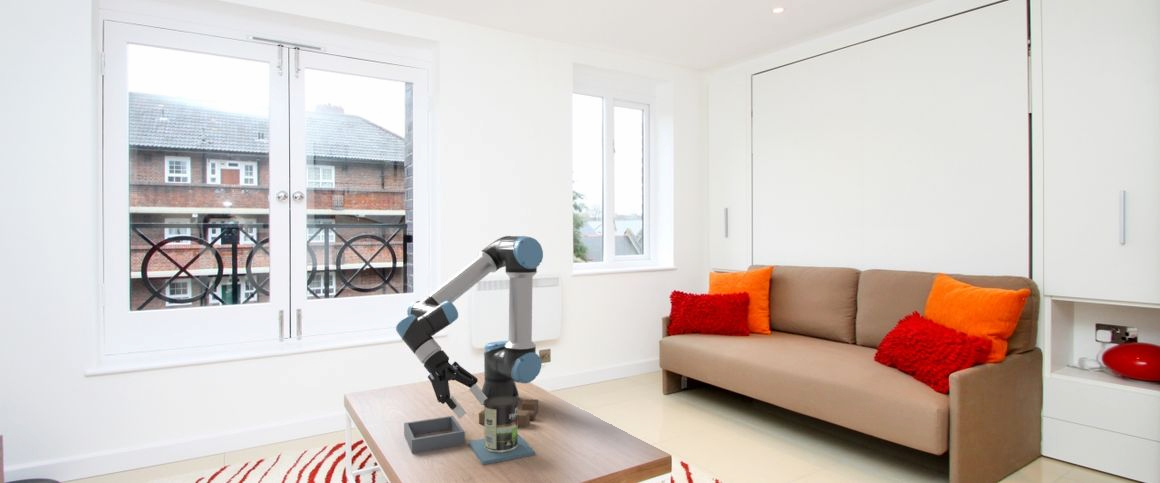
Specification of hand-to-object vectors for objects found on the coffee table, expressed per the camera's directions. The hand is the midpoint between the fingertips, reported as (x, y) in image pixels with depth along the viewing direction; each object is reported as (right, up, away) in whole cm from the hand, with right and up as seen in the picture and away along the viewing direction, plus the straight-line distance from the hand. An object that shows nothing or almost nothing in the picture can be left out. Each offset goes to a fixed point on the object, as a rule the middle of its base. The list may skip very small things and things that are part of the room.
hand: (474, 408), depth 169 cm
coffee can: (+9, -11, -3) cm, 14 cm away
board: (+9, -12, -3) cm, 15 cm away
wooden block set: (+8, -12, +25) cm, 29 cm away
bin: (-14, -11, +5) cm, 19 cm away
